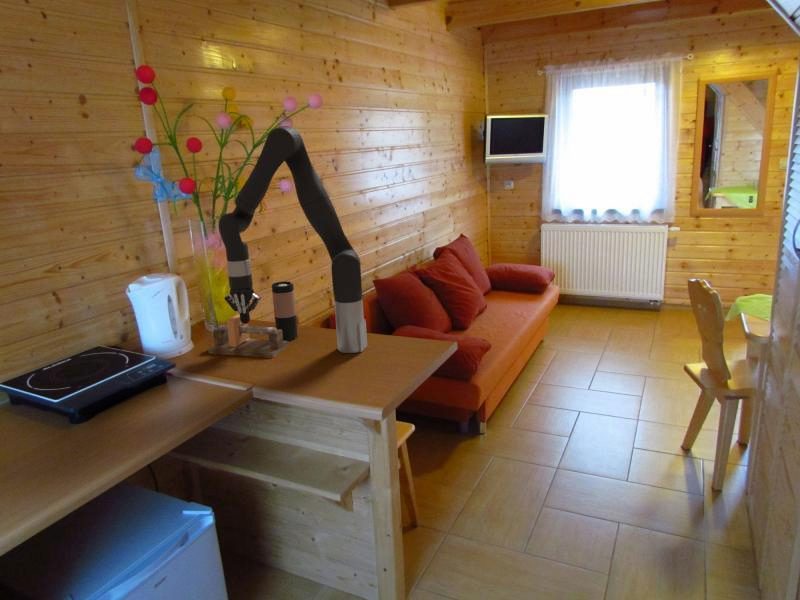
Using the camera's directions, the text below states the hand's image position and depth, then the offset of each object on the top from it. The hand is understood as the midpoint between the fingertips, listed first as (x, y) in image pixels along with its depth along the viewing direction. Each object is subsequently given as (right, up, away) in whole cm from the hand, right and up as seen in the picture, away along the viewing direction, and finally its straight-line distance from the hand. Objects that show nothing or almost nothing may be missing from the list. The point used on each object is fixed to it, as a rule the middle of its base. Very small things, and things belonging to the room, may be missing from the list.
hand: (245, 323), depth 190 cm
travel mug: (+12, -6, +13) cm, 18 cm away
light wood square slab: (-3, -7, +3) cm, 8 cm away
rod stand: (+1, -9, +3) cm, 9 cm away
